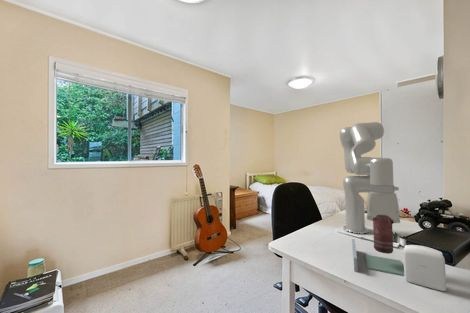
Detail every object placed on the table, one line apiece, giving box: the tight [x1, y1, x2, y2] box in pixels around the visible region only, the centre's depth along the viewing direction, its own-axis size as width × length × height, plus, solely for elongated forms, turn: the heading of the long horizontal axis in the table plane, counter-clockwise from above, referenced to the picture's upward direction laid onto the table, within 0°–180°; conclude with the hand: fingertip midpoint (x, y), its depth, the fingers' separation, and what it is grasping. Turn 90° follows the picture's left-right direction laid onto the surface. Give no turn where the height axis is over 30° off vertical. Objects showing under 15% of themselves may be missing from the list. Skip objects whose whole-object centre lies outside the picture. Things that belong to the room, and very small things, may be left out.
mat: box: [364, 254, 404, 277], centre depth 81 cm, size 12×12×1 cm
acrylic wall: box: [351, 238, 359, 273], centre depth 85 cm, size 20×1×5 cm, turn 152°
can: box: [372, 215, 394, 255], centre depth 80 cm, size 6×6×14 cm
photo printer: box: [402, 244, 447, 292], centre depth 68 cm, size 10×4×12 cm, turn 49°
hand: (383, 236), depth 81 cm, fingers closed
